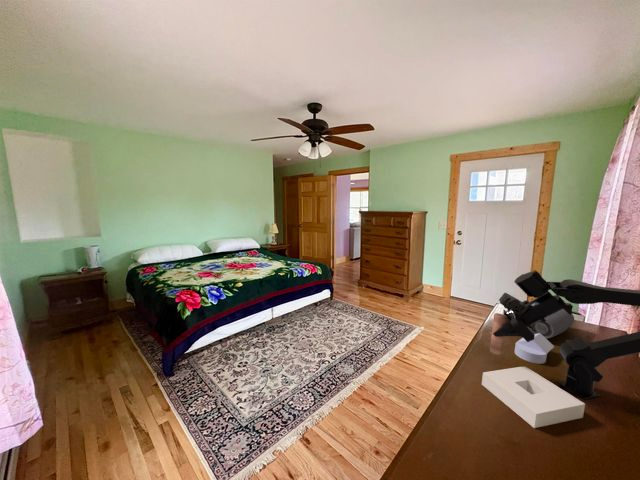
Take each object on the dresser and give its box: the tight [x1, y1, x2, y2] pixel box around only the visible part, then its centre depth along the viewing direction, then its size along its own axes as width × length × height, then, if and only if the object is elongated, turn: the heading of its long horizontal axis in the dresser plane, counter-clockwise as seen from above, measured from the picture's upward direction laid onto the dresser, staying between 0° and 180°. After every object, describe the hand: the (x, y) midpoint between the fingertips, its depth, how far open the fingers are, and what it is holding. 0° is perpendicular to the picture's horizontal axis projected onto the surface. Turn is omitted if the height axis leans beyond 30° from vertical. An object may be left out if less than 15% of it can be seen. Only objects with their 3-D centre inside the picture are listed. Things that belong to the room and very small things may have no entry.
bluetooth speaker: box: [530, 309, 575, 340], centre depth 111 cm, size 23×9×10 cm, turn 120°
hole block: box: [481, 365, 586, 429], centre depth 73 cm, size 16×16×4 cm
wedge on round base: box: [514, 333, 555, 365], centre depth 96 cm, size 9×7×13 cm
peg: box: [489, 312, 507, 356], centre depth 86 cm, size 4×4×13 cm
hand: (493, 332), depth 87 cm, fingers closed on peg, 4 cm apart
